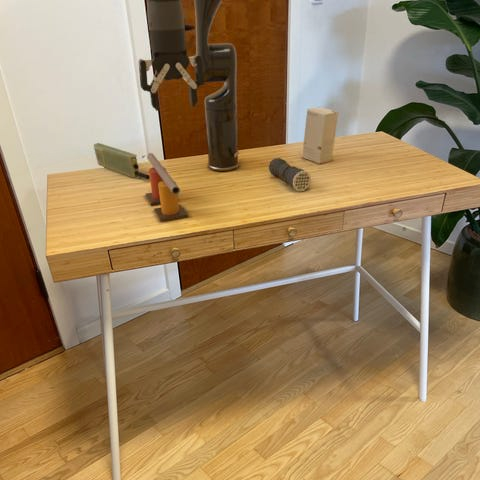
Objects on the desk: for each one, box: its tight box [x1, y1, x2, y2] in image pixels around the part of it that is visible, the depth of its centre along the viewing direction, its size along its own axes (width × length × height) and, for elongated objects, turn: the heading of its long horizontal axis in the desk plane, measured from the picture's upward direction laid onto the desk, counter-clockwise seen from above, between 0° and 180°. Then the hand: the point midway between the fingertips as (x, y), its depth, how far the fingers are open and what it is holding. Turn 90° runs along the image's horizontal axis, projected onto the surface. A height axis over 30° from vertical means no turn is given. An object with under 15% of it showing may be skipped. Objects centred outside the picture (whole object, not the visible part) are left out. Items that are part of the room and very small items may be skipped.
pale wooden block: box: [301, 106, 339, 165], centre depth 143 cm, size 8×6×15 cm
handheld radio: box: [93, 142, 150, 180], centre depth 140 cm, size 7×3×25 cm
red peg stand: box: [145, 166, 167, 206], centre depth 122 cm, size 7×7×8 cm
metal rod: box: [146, 152, 181, 195], centre depth 115 cm, size 2×27×2 cm, turn 21°
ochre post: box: [153, 180, 189, 223], centre depth 114 cm, size 7×7×8 cm
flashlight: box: [268, 157, 312, 192], centre depth 130 cm, size 15×5×5 cm, turn 25°
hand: (175, 107), depth 108 cm, fingers open, 8 cm apart
